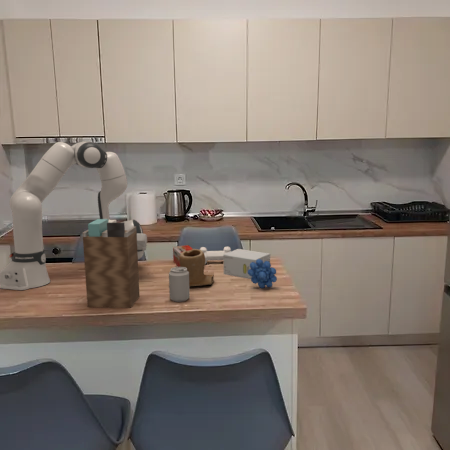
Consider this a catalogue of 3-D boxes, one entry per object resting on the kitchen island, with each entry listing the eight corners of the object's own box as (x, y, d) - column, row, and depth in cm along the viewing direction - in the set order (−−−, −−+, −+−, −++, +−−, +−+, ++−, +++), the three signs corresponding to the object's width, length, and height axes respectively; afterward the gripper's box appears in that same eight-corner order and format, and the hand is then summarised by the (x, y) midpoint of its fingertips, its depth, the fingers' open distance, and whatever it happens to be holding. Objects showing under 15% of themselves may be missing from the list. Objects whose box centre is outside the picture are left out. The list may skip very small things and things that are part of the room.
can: (186, 303, 173) (185, 271, 171) (167, 302, 175) (165, 270, 172) (191, 296, 180) (191, 266, 178) (173, 295, 182) (172, 265, 180)
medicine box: (172, 261, 231) (172, 246, 230) (188, 260, 234) (188, 244, 232) (180, 269, 217) (179, 253, 216) (197, 268, 220) (196, 251, 218)
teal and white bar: (88, 236, 166) (87, 224, 165) (107, 225, 185) (106, 214, 185) (99, 236, 166) (99, 224, 165) (117, 226, 185) (116, 214, 184)
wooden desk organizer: (87, 306, 170) (81, 222, 165) (99, 295, 182) (94, 217, 176) (130, 307, 169) (126, 223, 163) (139, 296, 181) (135, 217, 175)
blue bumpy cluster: (247, 291, 186) (247, 261, 183) (248, 285, 192) (248, 257, 190) (277, 291, 185) (277, 262, 182) (276, 286, 191) (276, 257, 189)
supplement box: (222, 274, 209) (222, 254, 207) (238, 267, 220) (238, 248, 218) (255, 280, 200) (255, 259, 198) (270, 273, 210) (270, 252, 209)
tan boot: (178, 290, 187) (177, 254, 184) (177, 281, 199) (176, 247, 196) (216, 289, 189) (215, 252, 186) (213, 280, 200) (213, 246, 198)
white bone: (230, 262, 232) (230, 245, 231) (231, 265, 223) (231, 248, 222) (200, 262, 231) (199, 246, 230) (199, 265, 222) (199, 248, 222)
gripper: (104, 236, 207) (94, 226, 194) (150, 236, 206) (142, 226, 193) (103, 250, 205) (92, 240, 192) (149, 250, 204) (141, 241, 191)
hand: (117, 233), depth 193 cm, fingers open, 8 cm apart
